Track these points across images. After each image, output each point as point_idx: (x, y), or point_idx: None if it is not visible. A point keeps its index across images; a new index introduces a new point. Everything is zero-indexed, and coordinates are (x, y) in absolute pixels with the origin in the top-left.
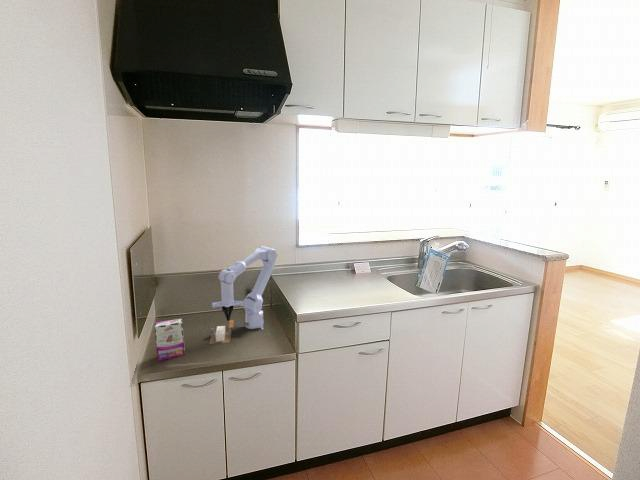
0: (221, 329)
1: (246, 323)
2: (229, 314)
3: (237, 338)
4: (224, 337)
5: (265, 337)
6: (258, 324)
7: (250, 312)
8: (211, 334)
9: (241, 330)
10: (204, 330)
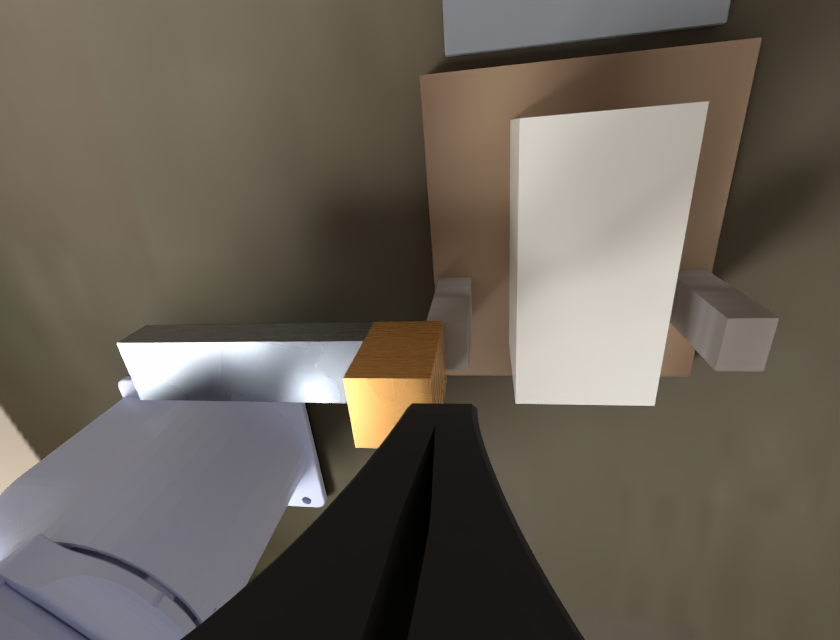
0: (578, 293)
1: (158, 370)
2: (352, 534)
3: (351, 222)
4: (513, 129)
5: (40, 210)
6: (131, 425)
7: (57, 589)
8: (721, 281)
9: None
10: (764, 458)
